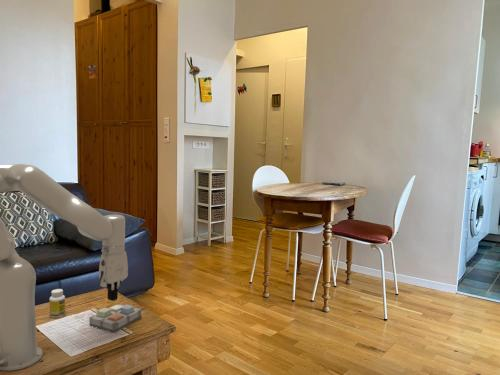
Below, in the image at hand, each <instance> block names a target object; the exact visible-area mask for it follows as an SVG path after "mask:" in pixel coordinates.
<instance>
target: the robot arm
mask: <svg viewBox="0 0 500 375" xmlns="http://www.w3.org/2000/svg"><path fill="white" fill-rule="evenodd" d="M15 191H16V192H17V191H18V192H21V193H22V194H24V195H25V196H26V197H27V198H29V199H30V200H32V201H34V203H36V204H37V205H39V206H41V207H42V208H43V209H44V210H46V211H48V212H49V213H51V214H52V215H53V216H56V218H59V219H62V220H64V221H67V222H69V223H70V224H72V225H74V226H76V228H77V231H78V233H80V235H82V236H84V237H87V238H89V239H92V240H95V241H98V242H102V247H101V250H100V252H101V253H102V254H101V255H100V259H99V260H100V261H99V266H98V267H99V268H98V280H99V282H100V283H99V284H100V285H99V287H101V288H106V290H107V300H109V301H112V302H114V301H117V300H118V296H119V295H118V292H119V291H118V289H119V288H120V285H121V283H122V282H123V281H124V280H125V279H126V278H128V275H129V264H128V256H127V251H125V249H126V248H125V246H126V217H125V216H124V215H123V214H116V213H115V214H107V215H103V214H102V213H100V212H99V211H98V210H97V209H95V208H94V207H92V206H91V205H90V204H88V203H86V202H84V201H83V200H81V199H80V197H78V196H76V195H74V194H73V193H71V192H70V191H69V190H68V189H66V188H65V187H63V186H62V185H61V184H60V183H58V182H57V181H56V180H54V179H53V178H52V177H51V176H49V175H48V174H47V173H46V172H44V171H43V170H41V169H40V168H39V167H37V166H35V165H32V164H26V163H25V164H24V163H18V164H0V193H7V192H15ZM11 233H12V232H10V231H9V229H8V228H7V226H6V224H5V223H4V220H2V218H1V217H0V371H5V372H6V371H7V372H8V371H9V372H10V371H12V372H13V371H19V370H22V369H25V368H27V367H30V366H32V365H35V363H37V362H39V361H40V359H42V357H43V354H44V353H43V349H42V348H41V347H39V346H38V344H37V327H36V326H37V324H36V306H35V304H36V303H35V298H36V297H35V294H36V293H35V291H36V283H37V282H36V280H37V275H36V271H35V268H34V266H33V265H32V264H31V263H30V262H29V261H28V260H26V259H24V258H23V257H21V256H20V255H19V254H18V252H17V251H16V242H15V239H14V237H13V235H12V234H11Z"/></svg>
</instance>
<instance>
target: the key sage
mask: <svg viewBox="0 0 500 375" xmlns="http://www.w3.org/2000/svg"><path fill="white" fill-rule="evenodd" d="M108 308H109V307H108ZM108 308H107V307H102V308H100V309H98V310H97V311H96V312H97V313H96V314H97V317H100V318H106V317H108V316H110V315H111V309H108Z"/></svg>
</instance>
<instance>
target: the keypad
mask: <svg viewBox="0 0 500 375" xmlns="http://www.w3.org/2000/svg"><path fill="white" fill-rule="evenodd" d="M115 305H119V306H125V305H126V304H125V305H124V304H120V303H116V304H115ZM115 305H112V306H110V307H108V309H110V308H111V307H113V306H115ZM114 314H119V315H123V318H122V319H120V320H118V321H116V322H115V321H111V320H109V317H110V316H112V315H114ZM110 316H108V317H106V318H100V317H97V313H95V314H93V315H91V316H90V317H88V318H89V327H92V326H93V328H95V327H97V328H96V329H99V330H102V329H103V331H107V332H108V333H109V332H110V333H113V334H115V333H117V332H119V331H120V330H122V329H125V328H126V327H128V326H129V325H131V324H133V323H134V322H136V321H138V320H140V319H142V309H141V308H135V307H134V312H133V313H131V314H129V315H125V314H121V310H120V311H118V312H113V311H111V315H110Z"/></svg>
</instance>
